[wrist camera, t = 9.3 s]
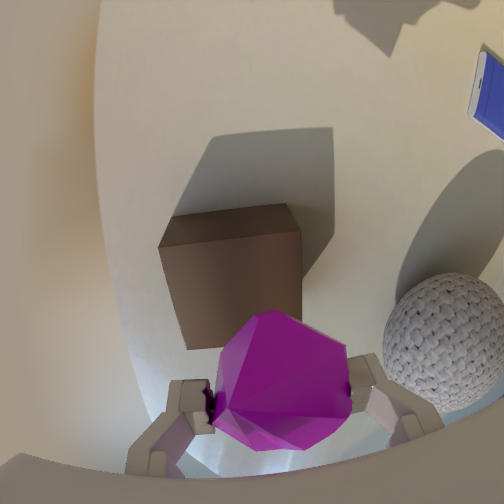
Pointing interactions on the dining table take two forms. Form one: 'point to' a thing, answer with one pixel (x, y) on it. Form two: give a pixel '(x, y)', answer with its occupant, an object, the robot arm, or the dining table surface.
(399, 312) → the decorative ball
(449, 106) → the dining table surface
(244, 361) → the crystal
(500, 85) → the hard drive
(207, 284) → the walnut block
